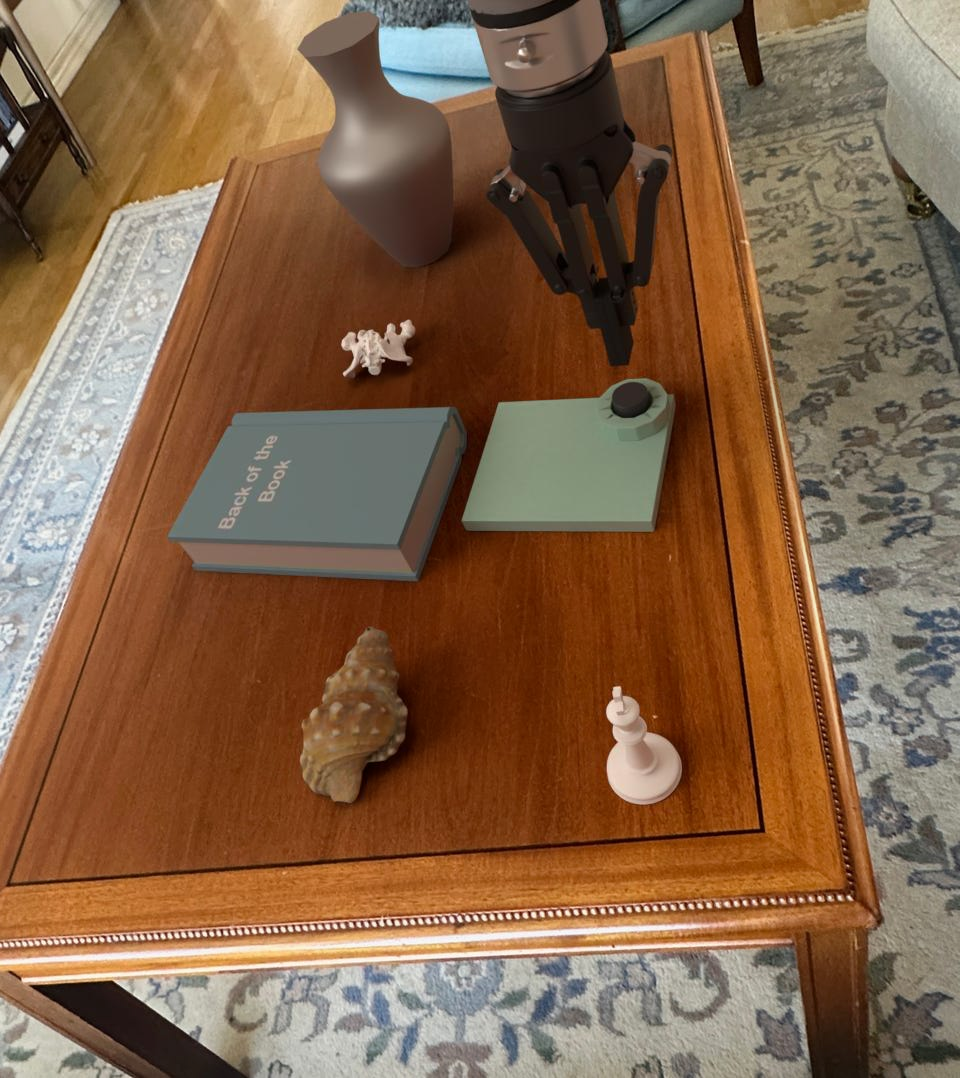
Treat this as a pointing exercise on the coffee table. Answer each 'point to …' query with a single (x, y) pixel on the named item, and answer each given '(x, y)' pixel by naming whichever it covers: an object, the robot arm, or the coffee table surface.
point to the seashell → (354, 720)
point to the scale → (572, 466)
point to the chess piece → (639, 756)
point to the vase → (382, 145)
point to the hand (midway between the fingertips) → (622, 354)
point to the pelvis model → (377, 348)
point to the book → (324, 493)
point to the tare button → (631, 400)
